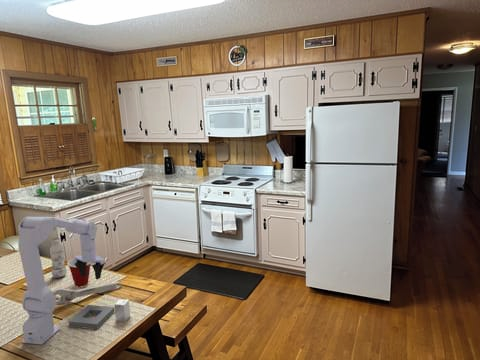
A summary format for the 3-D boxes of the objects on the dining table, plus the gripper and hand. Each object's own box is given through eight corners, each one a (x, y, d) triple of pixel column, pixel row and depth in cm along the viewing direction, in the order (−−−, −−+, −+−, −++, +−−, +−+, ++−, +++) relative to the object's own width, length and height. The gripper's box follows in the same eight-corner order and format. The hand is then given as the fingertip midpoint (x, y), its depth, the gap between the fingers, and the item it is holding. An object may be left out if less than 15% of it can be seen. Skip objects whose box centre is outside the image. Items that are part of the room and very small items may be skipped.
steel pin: (125, 321, 128) (123, 305, 126) (115, 320, 128) (114, 304, 127) (130, 315, 131) (129, 299, 130) (121, 315, 132) (119, 299, 131)
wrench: (121, 293, 156) (50, 310, 136) (119, 292, 157) (49, 308, 137) (122, 277, 155) (50, 291, 135) (120, 275, 156) (49, 289, 136)
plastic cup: (87, 289, 154) (85, 265, 152) (65, 289, 154) (62, 265, 152) (98, 279, 164) (96, 256, 162) (76, 279, 164) (74, 256, 163)
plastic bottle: (52, 275, 169) (48, 238, 166) (67, 272, 172) (63, 236, 169) (51, 280, 163) (47, 242, 160) (66, 277, 166) (62, 240, 163)
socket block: (97, 328, 123) (97, 324, 123) (69, 326, 125) (68, 321, 125) (114, 311, 135) (114, 307, 134) (88, 309, 137) (87, 304, 136)
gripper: (108, 246, 144) (110, 275, 146) (81, 243, 148) (84, 271, 150) (97, 252, 137) (100, 282, 139) (69, 249, 141) (72, 278, 143)
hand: (91, 277), depth 144 cm, fingers open, 7 cm apart
